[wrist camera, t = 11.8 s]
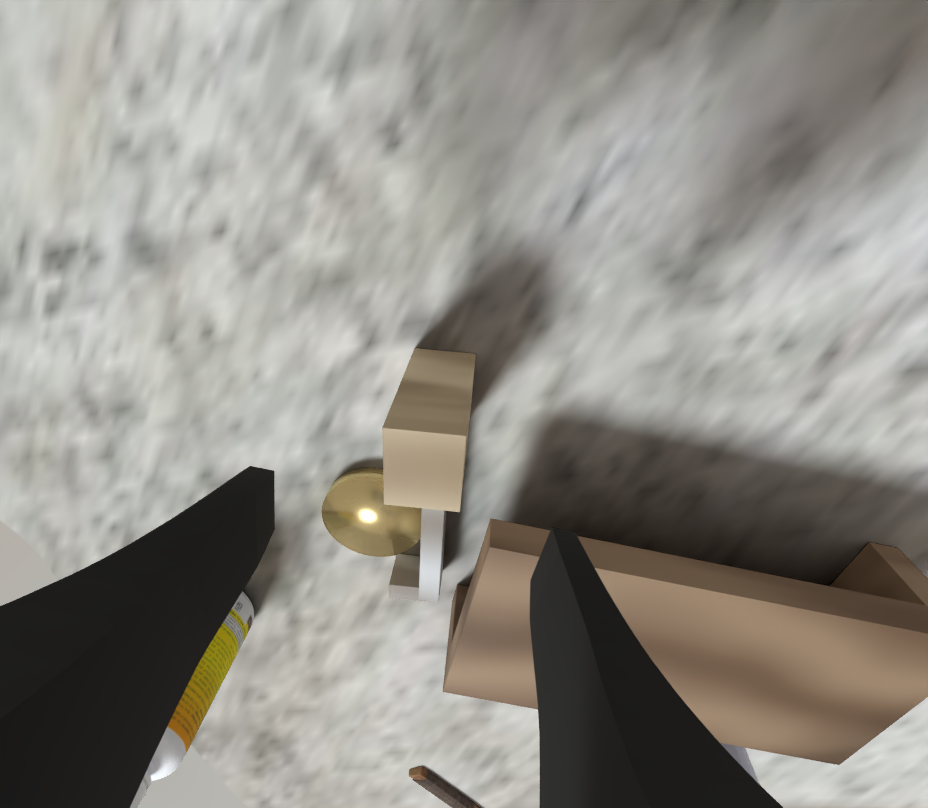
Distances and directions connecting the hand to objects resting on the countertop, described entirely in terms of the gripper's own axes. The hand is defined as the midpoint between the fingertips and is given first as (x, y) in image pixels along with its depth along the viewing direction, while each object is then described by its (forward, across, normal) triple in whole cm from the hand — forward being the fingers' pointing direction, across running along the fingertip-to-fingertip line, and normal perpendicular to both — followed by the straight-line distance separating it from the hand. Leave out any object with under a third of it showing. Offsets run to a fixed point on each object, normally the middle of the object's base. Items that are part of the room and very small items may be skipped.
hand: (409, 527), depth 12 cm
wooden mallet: (+9, 0, +5) cm, 10 cm away
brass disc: (+9, +2, +8) cm, 12 cm away
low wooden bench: (+9, -13, +9) cm, 18 cm away
